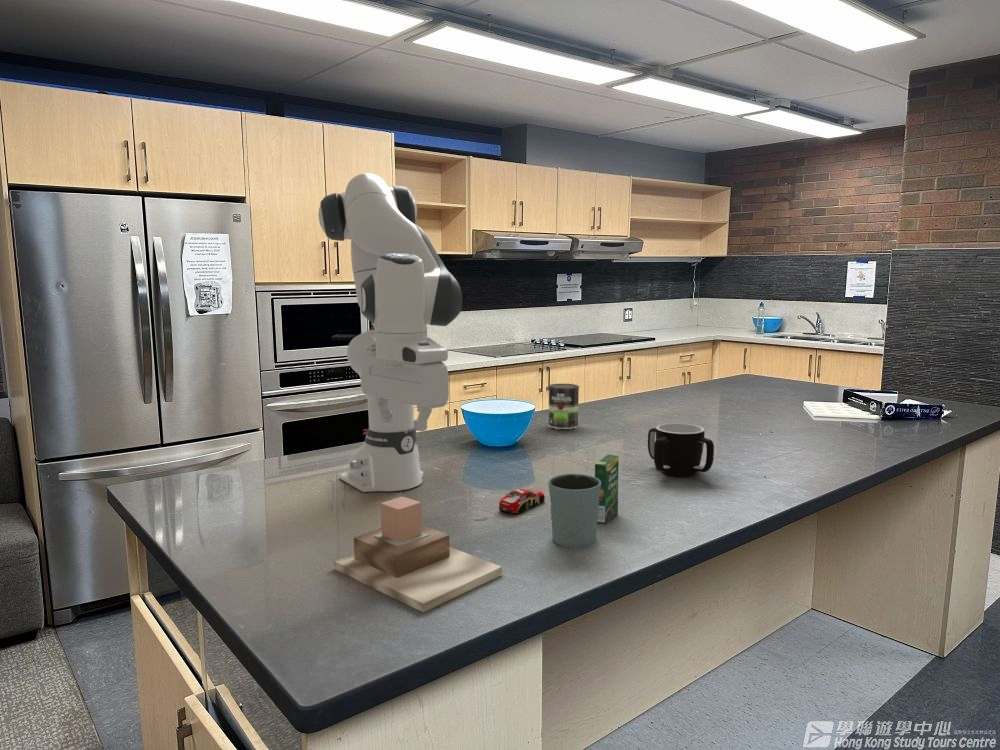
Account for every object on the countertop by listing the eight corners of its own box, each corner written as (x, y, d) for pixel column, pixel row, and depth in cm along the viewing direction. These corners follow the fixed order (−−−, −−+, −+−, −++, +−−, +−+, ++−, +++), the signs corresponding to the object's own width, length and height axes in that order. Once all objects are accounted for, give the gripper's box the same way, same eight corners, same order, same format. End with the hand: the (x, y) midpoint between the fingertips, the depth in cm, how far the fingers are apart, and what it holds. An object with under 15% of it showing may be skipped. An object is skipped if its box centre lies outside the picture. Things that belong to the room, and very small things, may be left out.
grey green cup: (595, 530, 140) (596, 473, 138) (604, 550, 130) (605, 488, 128) (545, 531, 140) (546, 473, 138) (551, 551, 130) (551, 489, 128)
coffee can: (575, 430, 228) (576, 388, 226) (545, 429, 231) (545, 387, 229) (581, 424, 238) (581, 384, 236) (552, 422, 241) (552, 382, 239)
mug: (713, 483, 170) (715, 436, 168) (647, 480, 173) (648, 433, 171) (707, 465, 186) (709, 422, 184) (647, 462, 189) (648, 420, 187)
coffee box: (606, 526, 142) (607, 464, 140) (592, 523, 143) (593, 462, 141) (618, 514, 149) (620, 455, 147) (606, 512, 150) (607, 453, 148)
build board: (334, 568, 122) (332, 538, 122) (412, 539, 136) (411, 512, 135) (423, 612, 106) (422, 577, 106) (502, 574, 119) (501, 543, 119)
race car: (530, 497, 162) (530, 480, 161) (549, 501, 158) (549, 485, 158) (494, 512, 152) (494, 494, 151) (514, 517, 148) (513, 499, 148)
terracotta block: (381, 535, 123) (380, 503, 122) (403, 527, 126) (402, 496, 125) (399, 542, 119) (398, 509, 118) (421, 534, 123) (420, 502, 122)
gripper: (351, 344, 124) (353, 419, 126) (426, 354, 110) (427, 438, 112) (379, 341, 129) (381, 414, 131) (454, 351, 115) (455, 432, 117)
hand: (402, 425), depth 121 cm, fingers open, 8 cm apart
